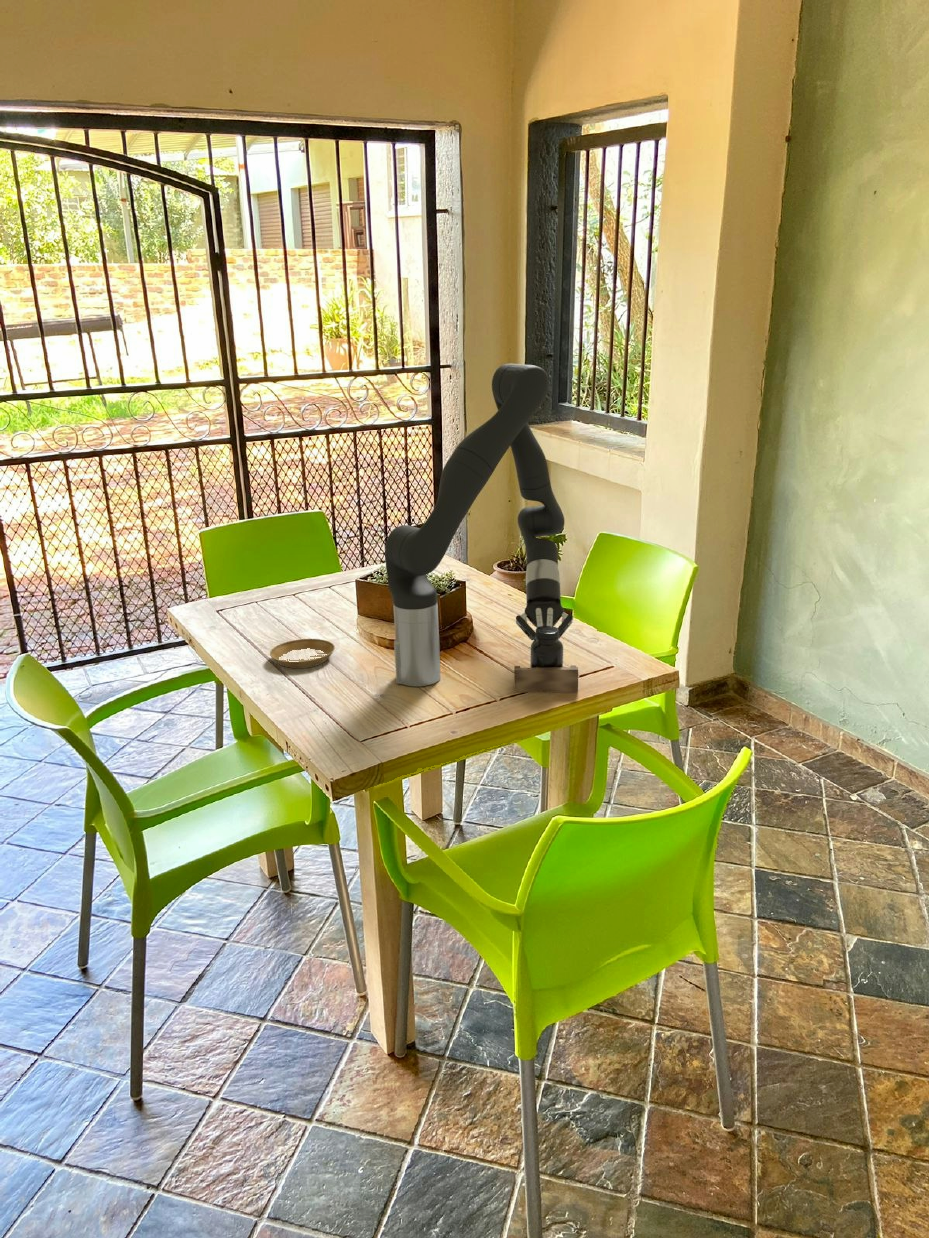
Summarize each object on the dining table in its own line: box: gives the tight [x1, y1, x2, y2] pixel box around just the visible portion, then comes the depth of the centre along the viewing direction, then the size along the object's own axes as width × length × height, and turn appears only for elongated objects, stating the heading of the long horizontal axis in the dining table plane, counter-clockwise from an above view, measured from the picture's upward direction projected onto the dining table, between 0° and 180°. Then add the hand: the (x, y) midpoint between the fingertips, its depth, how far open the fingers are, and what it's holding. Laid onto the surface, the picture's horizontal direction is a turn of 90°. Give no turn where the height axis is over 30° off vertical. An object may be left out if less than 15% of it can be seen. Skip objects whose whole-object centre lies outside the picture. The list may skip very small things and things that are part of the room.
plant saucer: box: [269, 638, 336, 669], centre depth 205 cm, size 15×15×3 cm
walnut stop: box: [513, 665, 579, 693], centre depth 186 cm, size 13×6×5 cm, turn 87°
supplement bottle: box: [529, 626, 564, 668], centre depth 187 cm, size 7×7×12 cm
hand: (545, 656), depth 191 cm, fingers closed
